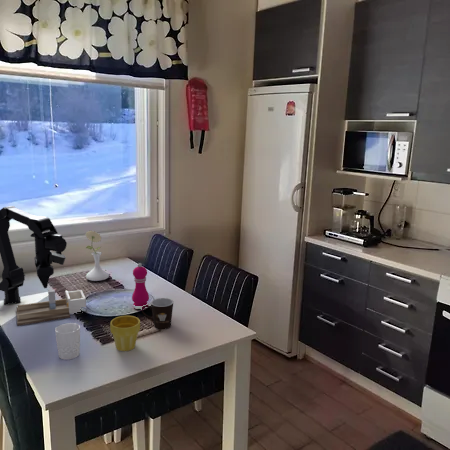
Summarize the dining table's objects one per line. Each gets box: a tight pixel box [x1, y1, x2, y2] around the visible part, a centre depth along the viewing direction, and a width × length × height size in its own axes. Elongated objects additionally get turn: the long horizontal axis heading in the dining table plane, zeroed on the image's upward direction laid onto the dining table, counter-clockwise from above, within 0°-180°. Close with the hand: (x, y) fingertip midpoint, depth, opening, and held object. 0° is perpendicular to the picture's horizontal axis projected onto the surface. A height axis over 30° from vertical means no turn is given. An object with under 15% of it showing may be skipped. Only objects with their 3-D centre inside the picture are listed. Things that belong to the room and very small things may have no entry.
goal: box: [64, 289, 87, 315], centre depth 188 cm, size 11×7×7 cm, turn 26°
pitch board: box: [16, 298, 71, 327], centre depth 183 cm, size 17×20×3 cm
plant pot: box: [109, 315, 141, 352], centre depth 157 cm, size 10×10×10 cm
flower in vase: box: [85, 230, 110, 282], centre depth 223 cm, size 13×11×25 cm
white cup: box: [54, 322, 81, 361], centre depth 150 cm, size 8×8×10 cm
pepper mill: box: [131, 262, 150, 306], centre depth 190 cm, size 7×7×20 cm
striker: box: [47, 289, 56, 310], centre depth 184 cm, size 7×2×8 cm, turn 26°
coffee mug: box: [141, 297, 174, 331], centre depth 174 cm, size 12×9×10 cm
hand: (44, 284), depth 184 cm, fingers open, 9 cm apart
